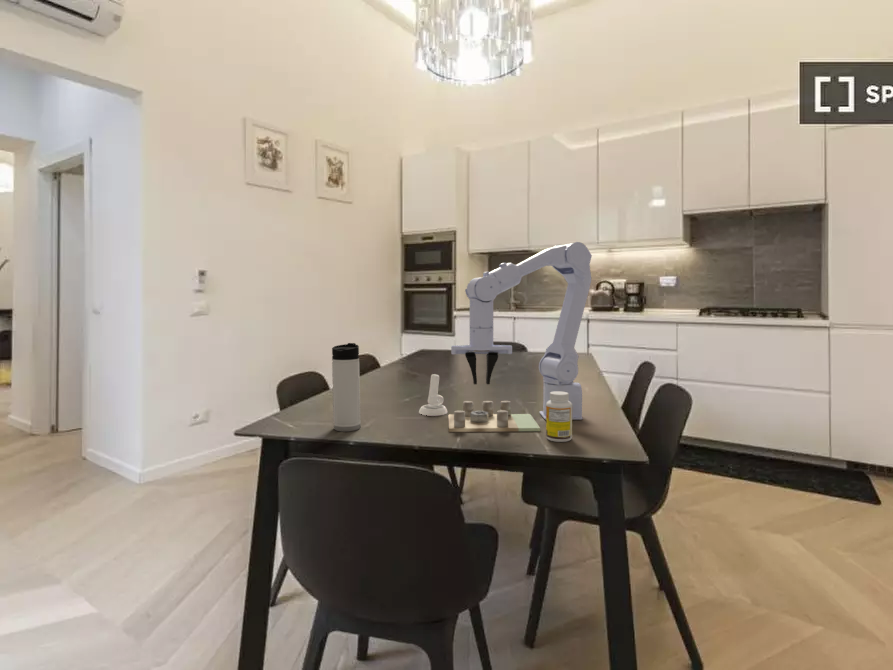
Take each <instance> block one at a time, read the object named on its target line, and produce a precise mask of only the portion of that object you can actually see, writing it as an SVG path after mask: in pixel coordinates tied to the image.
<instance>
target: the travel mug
mask: <svg viewBox="0 0 893 670" xmlns="http://www.w3.org/2000/svg"><path fill="white" fill-rule="evenodd" d="M359 353H360V346H359V345H358V344H356V343H355V342H352V343H351V342H347V343H345V344H339V345H335V346H333V347H332V348H331V356H332V357H331V361H332V363H331V367H332V368H331V371H332V372H331V373H332V409H333V411H332V412H333V414H332V415H333V429H334V430H335V431H336V432H343V433H344V432H346V433H347V432H354V431H355V432H356V431H358V430H359V429H361V391H360V390H361V389H360V388H361V387H360V384H361V383H360V379H361V378H360V354H359Z"/></svg>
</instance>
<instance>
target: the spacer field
mask: <svg viewBox="0 0 893 670" xmlns="http://www.w3.org/2000/svg"><path fill="white" fill-rule="evenodd" d="M472 411H474V401H471V400H463V402H462V410H454V411H453V413H449V414H448V413H447V414H448V416H447V417H448V432H449V433H465V432H466V433H468V432H469V433H472V432H473V433H475V432H476V433H477V432H479V433H481V432H482V433H484V432H486V433H490V432H491V433H493V432H520V431H519V428H518V426H517V424H516V422H515V421H514V419H513V417H512V415H511V414H512V401H510V400H501V401H500V409H499V410H497V411H496V413H494V401H492V400H483V401H482V411H485V412H488V421H487V422H486V423H475V422H470V413H471V412H472Z"/></svg>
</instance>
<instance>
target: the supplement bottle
mask: <svg viewBox="0 0 893 670" xmlns="http://www.w3.org/2000/svg"><path fill="white" fill-rule="evenodd" d="M568 400H569V394H568V393H567V392H562V391H554V392H550V400H549V401H548V402H547V403H546V420H545V436H546V439H547V440H548V441H551V442H555V443H556V442H557V443H566V442H569V441H571V440H572V438H573V420H572V403H571V402H570V401H568Z"/></svg>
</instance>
